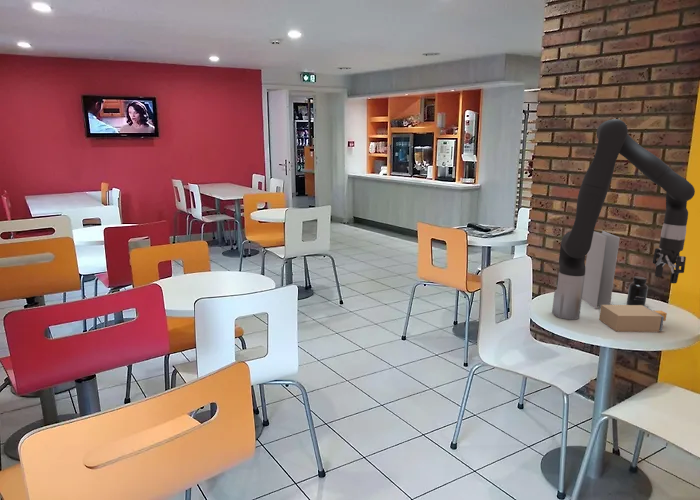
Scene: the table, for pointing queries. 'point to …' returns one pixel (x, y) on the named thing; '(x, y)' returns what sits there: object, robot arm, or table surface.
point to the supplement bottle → (637, 291)
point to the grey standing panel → (600, 269)
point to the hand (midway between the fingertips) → (665, 279)
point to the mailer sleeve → (630, 318)
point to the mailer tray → (661, 317)
